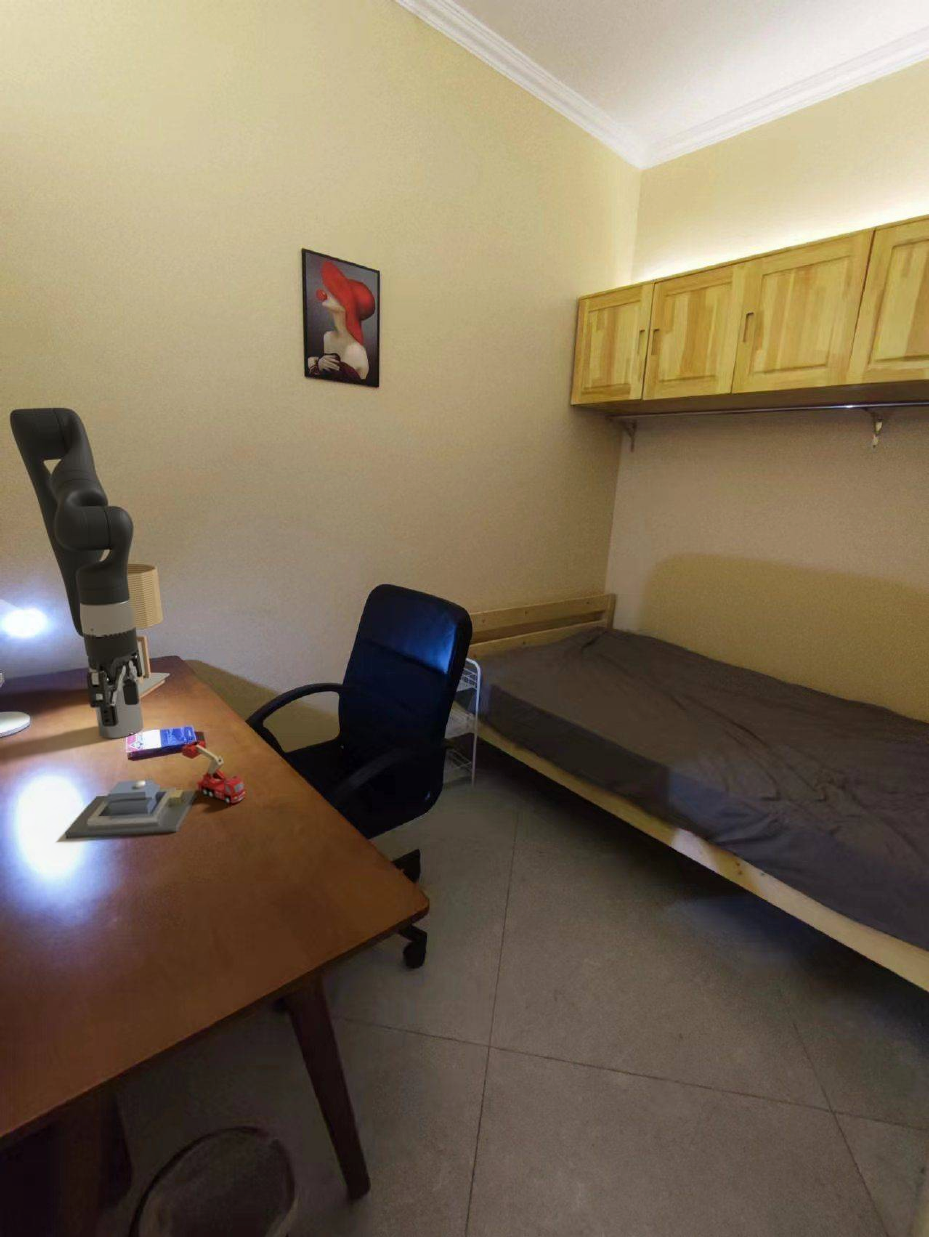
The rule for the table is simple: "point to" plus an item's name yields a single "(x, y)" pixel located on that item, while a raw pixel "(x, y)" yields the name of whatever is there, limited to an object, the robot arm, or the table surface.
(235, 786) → the toy fire truck
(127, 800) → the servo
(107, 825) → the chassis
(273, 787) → the table surface
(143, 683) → the desk lamp
